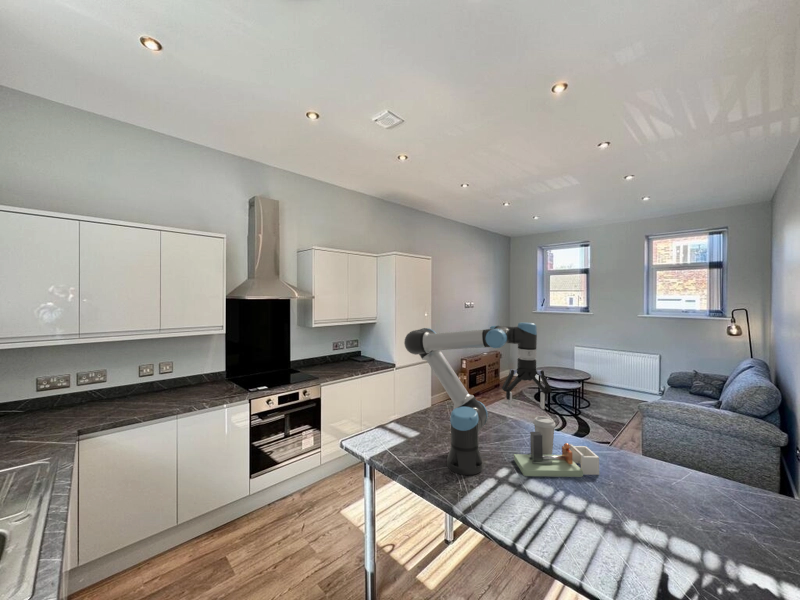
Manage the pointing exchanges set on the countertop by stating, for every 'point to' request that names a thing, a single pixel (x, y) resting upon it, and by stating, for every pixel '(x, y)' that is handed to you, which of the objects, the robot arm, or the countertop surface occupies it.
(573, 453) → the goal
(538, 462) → the rail guide
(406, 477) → the countertop surface
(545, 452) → the coffee cup
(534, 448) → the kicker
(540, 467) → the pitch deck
